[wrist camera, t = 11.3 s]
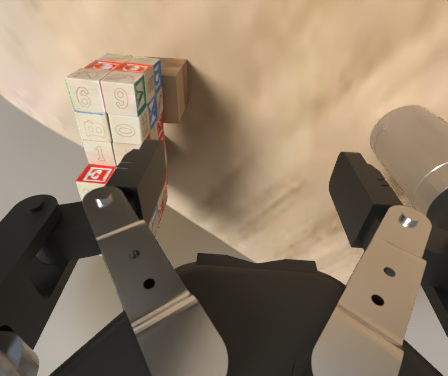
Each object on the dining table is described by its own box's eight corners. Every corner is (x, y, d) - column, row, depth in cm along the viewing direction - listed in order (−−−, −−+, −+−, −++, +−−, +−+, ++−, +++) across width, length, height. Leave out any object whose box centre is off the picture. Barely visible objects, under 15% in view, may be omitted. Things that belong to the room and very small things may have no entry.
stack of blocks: (106, 51, 31) (43, 87, 21) (161, 57, 31) (124, 96, 21) (130, 195, 44) (98, 257, 34) (168, 199, 44) (147, 262, 34)
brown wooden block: (186, 59, 38) (175, 76, 32) (188, 101, 42) (178, 123, 36) (144, 56, 38) (125, 73, 32) (149, 98, 42) (133, 120, 36)
